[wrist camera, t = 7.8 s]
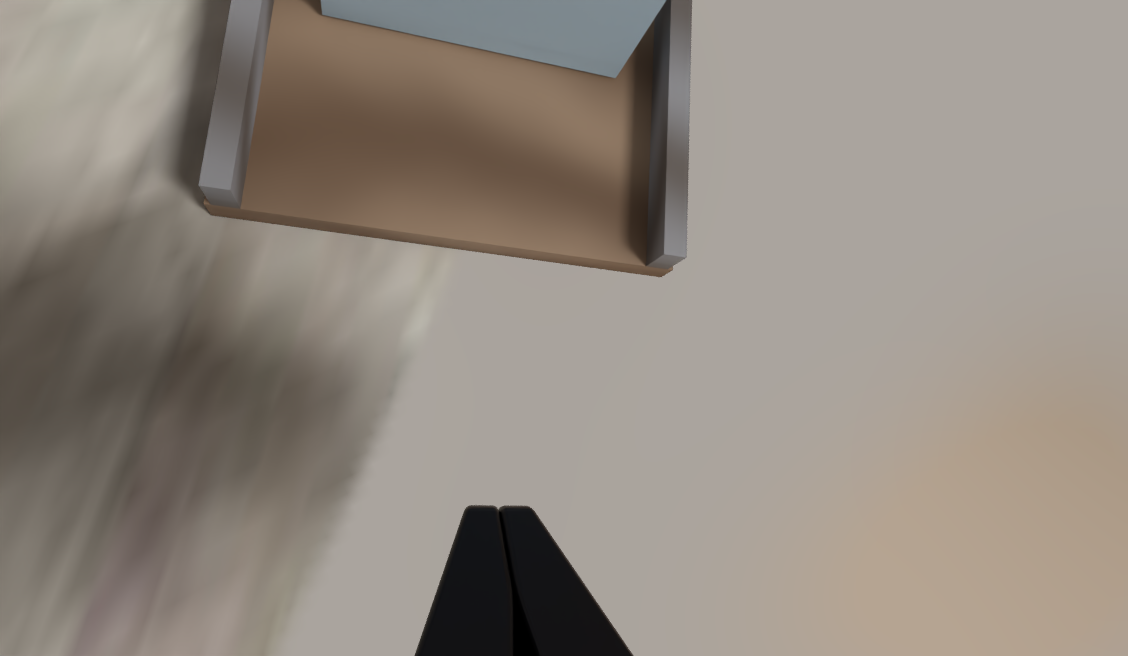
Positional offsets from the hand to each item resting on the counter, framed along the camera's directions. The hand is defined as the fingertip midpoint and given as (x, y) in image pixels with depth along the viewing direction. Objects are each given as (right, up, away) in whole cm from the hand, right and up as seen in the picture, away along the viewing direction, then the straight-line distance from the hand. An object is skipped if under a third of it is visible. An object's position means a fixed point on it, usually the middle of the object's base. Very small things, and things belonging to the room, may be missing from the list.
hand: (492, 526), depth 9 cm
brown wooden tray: (-2, +14, +16) cm, 21 cm away
